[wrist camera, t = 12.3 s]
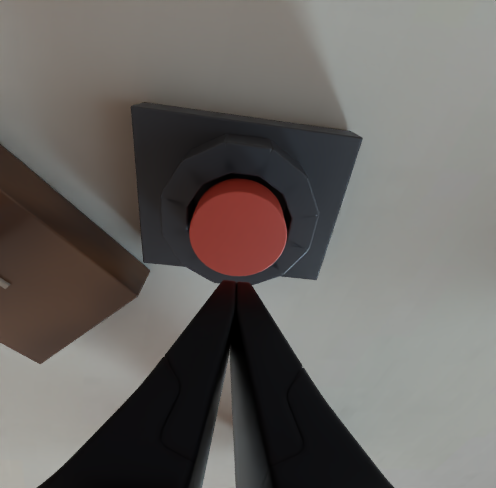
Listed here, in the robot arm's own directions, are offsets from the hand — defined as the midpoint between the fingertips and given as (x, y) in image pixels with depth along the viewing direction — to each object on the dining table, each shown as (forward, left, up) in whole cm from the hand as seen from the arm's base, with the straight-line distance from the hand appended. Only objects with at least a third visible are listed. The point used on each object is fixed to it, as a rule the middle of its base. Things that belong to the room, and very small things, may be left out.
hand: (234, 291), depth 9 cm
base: (+13, +5, -8) cm, 16 cm away
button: (0, 0, -5) cm, 5 cm away
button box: (0, 0, -8) cm, 8 cm away
